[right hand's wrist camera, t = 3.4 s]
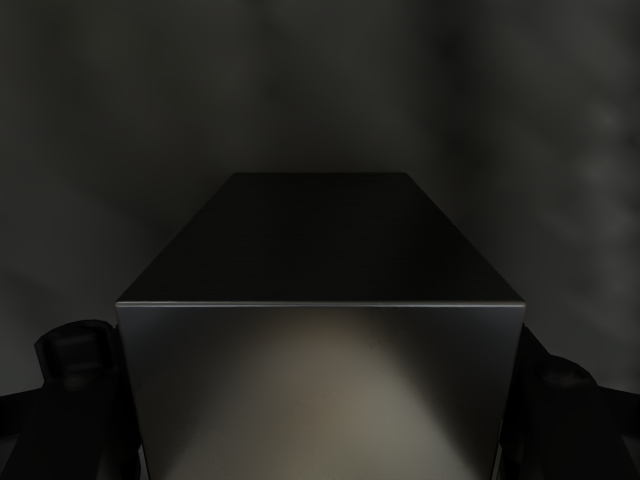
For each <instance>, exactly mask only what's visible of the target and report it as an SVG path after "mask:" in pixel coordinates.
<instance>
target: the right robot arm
mask: <svg viewBox="0 0 640 480" xmlns="http://www.w3.org/2000/svg"><path fill="white" fill-rule="evenodd" d="M34 347H35V350H36V354H37V357H38V360H39V364H40V367H41V371H42V374H43V378H44V381H45V382H44V384H43V386H42V388H39V389H35V390H30V391H25V392H20V393H15V394H10V395H5V396H1V397H0V480H140V473H141V464H140V458H139V453H138V450H139V448H140V446H141V444H142V442H141V437H140V432H139V427H138V422H137V417H136V412H135V407H134V401H133V396H132V391H131V386H130V381H129V376H128V371H127V366H126V361H125V356H124V351H123V346H122V341H121V336H120V331H119V326H118V324H117V325H116V328H114V329H113V326H112V325H110V324H109V323H108V322H106V321H101V320H96V319H95V320H81V321H76V322H72V323H67V324H65V325H62V326H60V327H57V328H55V329H52V330H51V331H49V332H48V333H46V334H44V335H43V336H41V337H40V338H39V339H38V340H37V342H36V343H35V344H34ZM499 443H500V445H501V447H502V453H501V458H500V463H499V467H498V472H497V477H496V480H640V395H639V394H634V393H629V392H624V391H619V390H614V389H609V388H605V387H601V386H598V385H597V383H596V381H595V380H594V378H593V377H592V376H591V374H590V373H589V372H588V371H586V370H585V369H584V368H582V367H581V366H580V365H578V364H576V363H574V362H572V361H570V360H567V359H565V358H562V357H558V356H554V355H551V354H549V353H548V352H547V350H546V349H545V348H544V347H543V346H542V344H541V343H540V342H539V341H538V340H537V338H536V337H535V336H534V335H533V334H532V332H531V331H530V330H529V329H528V328H527V327H525V324H524V323H523V324H522V329H521V334H520V339H519V344H518V349H517V354H516V359H515V364H514V369H513V374H512V379H511V384H510V389H509V394H508V399H507V404H506V409H505V414H504V419H503V424H502V429H501V434H500V439H499Z"/></svg>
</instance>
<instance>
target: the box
mask: <svg viewBox="0 0 640 480" xmlns="http://www.w3.org/2000/svg"><path fill="white" fill-rule="evenodd" d="M525 309H526V303H525V301H524V300H523V299H522V298H521V296H520V295H519V294H518V293H517V292H516V291H515V290H514V289H513V288H512V287H511V286H510V285H509V283H508V282H507V281H506V280H505V279H504V278H503V277H502V276H501V275H500V274H499V273H498V272H497V271H496V269H495V268H494V267H493V266H492V265H491V264H490V263H489V262H488V261H487V260H486V259H485V258H484V256H483V255H482V254H481V253H480V252H479V251H478V250H477V249H476V248H475V247H474V246H473V245H472V243H471V242H470V241H469V240H468V239H467V238H466V237H465V236H464V235H463V234H462V233H461V232H460V230H459V229H458V228H457V227H456V226H455V225H454V224H453V223H452V222H451V221H450V220H449V219H448V217H447V216H446V215H445V214H444V213H443V212H442V211H441V210H440V209H439V208H438V207H437V206H436V205H435V203H434V202H433V201H432V200H431V199H430V198H429V197H428V196H427V195H426V194H425V193H424V192H423V190H422V189H421V188H420V187H419V186H418V185H417V184H416V183H415V182H414V181H413V180H412V179H411V177H410V176H409V175H408V174H407V173H234V174H232V176H231V177H230V178H229V179H228V180H227V181H226V182H225V183H224V184H223V185H222V186H221V187H220V189H219V190H218V191H217V192H216V193H215V194H214V195H213V196H212V197H211V198H210V199H209V201H208V202H207V203H206V204H205V205H204V206H203V207H202V208H201V209H200V210H199V211H198V212H197V214H196V215H195V216H194V217H193V218H192V219H191V220H190V221H189V222H188V223H187V224H186V225H185V227H184V228H183V229H182V230H181V231H180V232H179V233H178V234H177V235H176V236H175V237H174V238H173V240H172V241H171V242H170V243H169V244H168V245H167V246H166V247H165V248H164V249H163V250H162V252H161V253H160V254H159V255H158V256H157V257H156V258H155V259H154V260H153V261H152V262H151V263H150V265H149V266H148V267H147V268H146V269H145V270H144V271H143V272H142V273H141V274H140V275H139V276H138V278H137V279H136V280H135V281H134V282H133V283H132V284H131V285H130V286H129V287H128V288H127V289H126V291H125V292H124V293H123V294H122V295H121V296H120V297H119V298H118V299H117V300H116V302H115V311H116V316H117V321H118V326H119V331H120V336H121V341H122V346H123V351H124V356H125V361H126V366H127V371H128V376H129V381H130V386H131V391H132V396H133V401H134V407H135V412H136V417H137V422H138V427H139V432H140V437H141V442H142V447H143V452H144V457H145V462H146V467H147V472H148V477H149V480H491V479H492V474H493V469H494V464H495V459H496V454H497V449H498V444H499V439H500V434H501V429H502V424H503V419H504V414H505V409H506V404H507V399H508V394H509V389H510V384H511V379H512V374H513V369H514V364H515V359H516V354H517V349H518V344H519V339H520V334H521V329H522V324H523V319H524V314H525Z"/></svg>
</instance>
